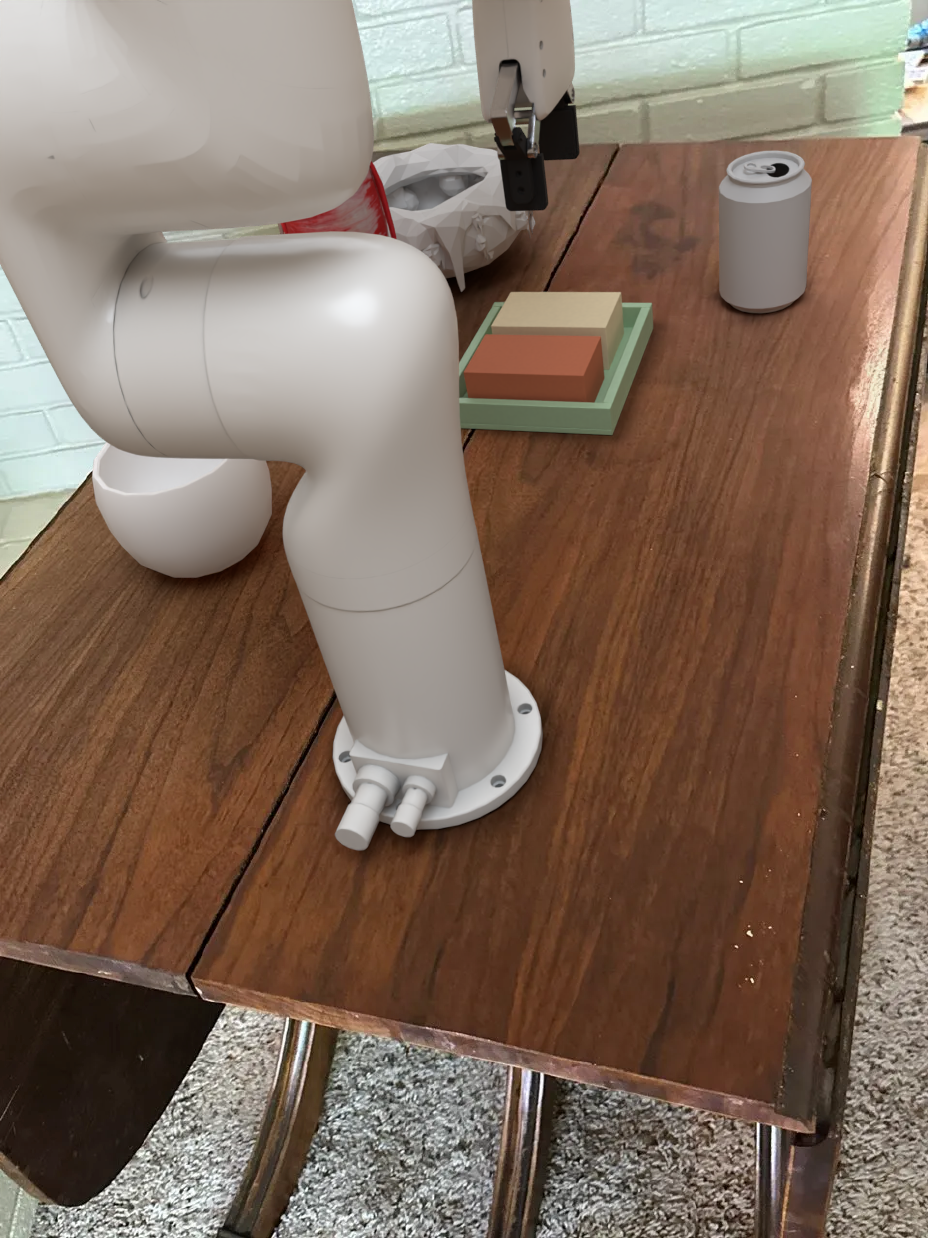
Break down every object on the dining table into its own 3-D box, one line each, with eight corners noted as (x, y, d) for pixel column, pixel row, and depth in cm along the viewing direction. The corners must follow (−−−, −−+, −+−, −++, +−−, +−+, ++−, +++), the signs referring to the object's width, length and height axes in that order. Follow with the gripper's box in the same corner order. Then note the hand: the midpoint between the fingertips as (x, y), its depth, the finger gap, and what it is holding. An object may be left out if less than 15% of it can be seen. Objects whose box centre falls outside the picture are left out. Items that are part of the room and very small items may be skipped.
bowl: (307, 285, 114) (280, 191, 108) (449, 209, 123) (433, 117, 116) (434, 338, 102) (413, 235, 95) (583, 248, 110) (573, 149, 103)
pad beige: (609, 369, 92) (605, 327, 89) (497, 366, 95) (490, 325, 92) (624, 333, 96) (621, 291, 93) (516, 331, 99) (510, 291, 96)
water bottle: (289, 435, 93) (192, 140, 77) (318, 384, 99) (234, 99, 82) (421, 434, 90) (351, 126, 73) (444, 382, 96) (383, 84, 79)
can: (806, 315, 94) (814, 177, 86) (717, 319, 96) (717, 185, 88) (804, 274, 99) (811, 140, 91) (720, 279, 101) (720, 149, 93)
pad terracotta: (587, 418, 87) (583, 375, 84) (471, 414, 90) (463, 372, 88) (604, 378, 91) (601, 335, 88) (492, 375, 94) (485, 333, 91)
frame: (612, 435, 86) (610, 408, 84) (440, 427, 90) (435, 401, 89) (653, 328, 96) (652, 302, 95) (498, 326, 101) (494, 301, 100)
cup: (121, 538, 86) (72, 437, 80) (266, 483, 89) (230, 381, 82) (149, 629, 78) (97, 524, 71) (310, 565, 80) (273, 458, 73)
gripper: (501, -93, 80) (528, 143, 92) (422, -30, 69) (465, 231, 80) (600, -106, 78) (615, 138, 89) (536, -42, 66) (563, 229, 78)
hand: (544, 182), depth 85 cm, fingers open, 9 cm apart
